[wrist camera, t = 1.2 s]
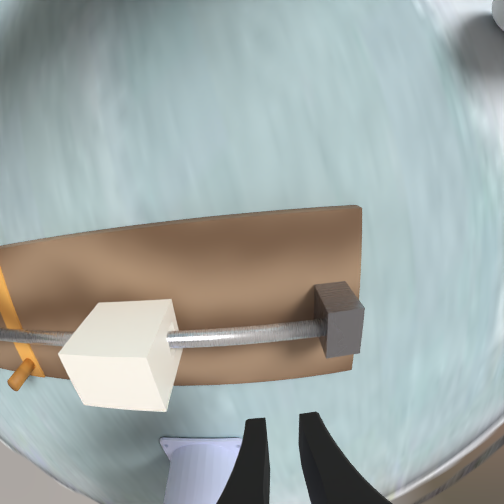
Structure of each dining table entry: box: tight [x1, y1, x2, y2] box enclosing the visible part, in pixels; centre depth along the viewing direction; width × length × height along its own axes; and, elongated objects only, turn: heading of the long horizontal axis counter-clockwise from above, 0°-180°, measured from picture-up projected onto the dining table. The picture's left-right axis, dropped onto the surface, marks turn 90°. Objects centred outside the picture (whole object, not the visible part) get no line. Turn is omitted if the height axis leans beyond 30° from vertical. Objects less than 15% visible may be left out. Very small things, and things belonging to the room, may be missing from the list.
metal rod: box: [0, 281, 365, 359], centre depth 18 cm, size 3×29×4 cm, turn 95°
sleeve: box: [58, 299, 183, 412], centre depth 15 cm, size 4×5×6 cm
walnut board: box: [0, 205, 362, 391], centre depth 18 cm, size 12×34×4 cm, turn 95°
